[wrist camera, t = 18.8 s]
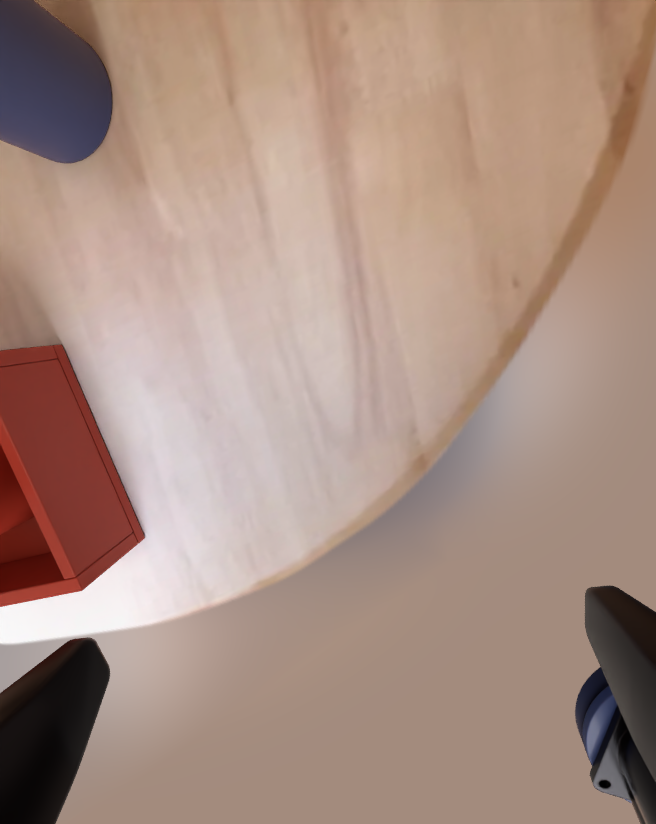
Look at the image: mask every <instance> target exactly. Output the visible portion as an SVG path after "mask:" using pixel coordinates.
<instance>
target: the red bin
mask: <svg viewBox="0 0 656 824" xmlns="http://www.w3.org/2000/svg"><path fill="white" fill-rule="evenodd" d="M0 444H1V447H2V449H3V451H4V453H5V455H6V457H7V459H8V461H9V463H10V466H11V468H12V470H13V472H14V474H15V476H16V478H17V480H18V482H19V485H20V487H21V489H22V491H23V493H24V495H25V497H26V499H27V501H28V504H29V506H30V508H31V510H32V512H33V514H34V516H35V517H33V518H31V519H29V520H27V521H25V522H23V523H22V524H20V525H18V526H16V527H14V528H12V529H11V530H9V531H7V532H5V533H3V534H1V535H0V607H2V606H7V605H12V604H17V603H22V602H27V601H32V600H37V599H43V598H48V597H53V596H58V595H63V594H68V593H73V592H78V591H82V590H83V589H85V588H86V587H87V586H88V585H89V584H91V583H92V582H93V581H94V580H95V579H97V578H98V577H99V576H100V575H101V574H103V573H104V572H105V571H106V570H107V569H108V568H110V567H111V566H112V565H113V564H114V563H116V562H117V561H118V560H119V559H120V558H122V557H123V556H124V555H125V554H126V553H128V552H129V551H130V550H131V549H132V548H134V547H135V546H136V545H137V544H138V543H140V542H141V541H142V540H143V539H144V538H145V537H144V534H143V532H142V530H141V527H140V525H139V523H138V520H137V518H136V516H135V513H134V511H133V509H132V506H131V504H130V502H129V499H128V497H127V495H126V492H125V490H124V488H123V485H122V483H121V481H120V479H119V476H118V474H117V472H116V469H115V467H114V465H113V462H112V460H111V458H110V455H109V453H108V451H107V448H106V446H105V444H104V441H103V439H102V437H101V434H100V432H99V430H98V427H97V425H96V423H95V421H94V418H93V416H92V414H91V411H90V409H89V407H88V404H87V402H86V400H85V397H84V395H83V393H82V390H81V388H80V386H79V383H78V381H77V379H76V376H75V374H74V372H73V369H72V367H71V365H70V362H69V360H68V358H67V356H66V353H65V351H64V349H63V346H62V345H52V346H51V345H50V346H40V347H30V348H20V349H10V350H1V351H0Z"/></svg>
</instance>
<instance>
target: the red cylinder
mask: <svg viewBox="0 0 656 824" xmlns="http://www.w3.org/2000/svg"><path fill="white" fill-rule="evenodd" d="M33 517H35V516H34V514H33V512H32V510H31V508H30V506H29V504H28V501H27V499H26V497H25V495H24V493H23V491H22V489H21V487H20V485H19V482H18V480H17V478H16V476H15V474H14V472H13V470H12V468H11V466H10V463H9V461H8V459H7V457H6V455H5V453H4V451H3V449H2V447H1V444H0V535H1V534H3V533H5V532H7V531H9V530H11V529H12V528H14V527H16V526H18V525H20V524H22V523H23V522H25V521H27V520H29V519H31V518H33Z"/></svg>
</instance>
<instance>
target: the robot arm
mask: <svg viewBox="0 0 656 824" xmlns="http://www.w3.org/2000/svg"><path fill="white" fill-rule="evenodd" d="M585 628H586V632H587V636H588V639H589V641H590V643H591V646H592V648H593V650H594V652H595V655H596V657H597V659H598V661H599V664H600V666H601V669H602V671H603V673H604V675H605V678H606V680H607V682H608V684H609V687H610V689H611V691H612V693H613V696H614V698H615V700H616V703H617V707H616V709H615V712H614V714H613V717H612V719H611V722H610V724H609V726H608V729H607V731H606V734H605V736H604V739H603V741H602V744H601V746H600V749H599V751H598V754H597V756H596V759H595V761H594V764H593V766H592V769H591V771H590V776H591V780H592V782H593V785H594V787H595V788H596V789H597V790H599V791H601V792H604V793H607V794H610V795H613V796H617V797H620V798H624V799H627V800H630V801H631V802H632V805H633V807H634V809H635V811H636V813H637V816H638V818H639V821H640V823H641V824H656V612H655V611H653V610H652V609H650V608H648V607H647V606H645V605H644V604H642V603H641V602H639V601H638V600H636V599H634V598H633V597H631V596H630V595H628V594H627V593H625V592H624V591H622V590H620V589H619V588H617V587H614V586H601V587H591V588H588V589H587V591H586V593H585ZM109 677H110V669H109V665H108V663H107V661H106V659H105V657H104V655H103V654H102V652H101V650H100V648H99V646H98V644H97V642H96V641H95V640H94V639H92V638H80V639H73V640H70V641H68V642H67V643H65V644H64V645H63V646H61V647H60V648H59V649H57V650H56V651H55V652H53V653H52V654H51V655H50V656H48V657H47V658H46V659H44V660H43V661H42V662H41V663H39V664H38V665H37V666H35V667H34V668H33V669H31V670H30V671H29V672H27V673H26V674H25V675H24V676H22V677H21V678H20V679H18V680H17V681H16V682H14V683H13V684H12V685H11V686H9V687H8V688H7V689H5V690H4V691H3V692H1V693H0V824H55V823H56V821H57V819H58V816H59V814H60V812H61V810H62V807H63V805H64V803H65V800H66V798H67V796H68V793H69V791H70V789H71V786H72V784H73V781H74V779H75V776H76V774H77V771H78V769H79V766H80V763H81V760H82V757H83V755H84V752H85V749H86V746H87V743H88V740H89V737H90V734H91V731H92V729H93V726H94V723H95V720H96V717H97V714H98V711H99V708H100V705H101V702H102V699H103V697H104V694H105V691H106V688H107V685H108V682H109Z"/></svg>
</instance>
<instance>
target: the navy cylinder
mask: <svg viewBox="0 0 656 824" xmlns="http://www.w3.org/2000/svg"><path fill="white" fill-rule="evenodd" d="M111 113H112V94H111V87H110V83H109V79H108V75H107V73H106V70H105V68H104V66H103V64H102V62H101V60H100V58H99V57H98V55H97V54H96V52H95V51H94V50H93V49H92V47H91V46H90V45H89V44H87V43H86V42H85V41H84V40H83V39H82V38H80V37H79V36H78V35H77V34H75V33H74V32H73V31H72V30H70V29H69V28H68V27H66V26H65V25H64V24H63V23H61V22H60V21H59V20H58V19H56V18H55V17H54V16H53V15H51V14H50V13H49V12H48V11H46V10H45V9H44V8H43V7H41V6H40V5H39V4H38V3H36V2H35V1H34V0H0V140H2V141H4V142H7V143H9V144H12V145H14V146H17V147H19V148H22V149H24V150H27V151H29V152H32V153H34V154H37V155H39V156H42V157H44V158H47V159H49V160H52V161H55V162H60V163H73V162H77V161H80V160H83V159H84V158H86V157H88V156H89V155H91V154H92V153H93V152H94V151H95V150H96V149H97V148H98V146H99V145H100V144H101V142H102V141H103V139H104V137H105V135H106V132H107V130H108V127H109V123H110V119H111Z"/></svg>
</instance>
